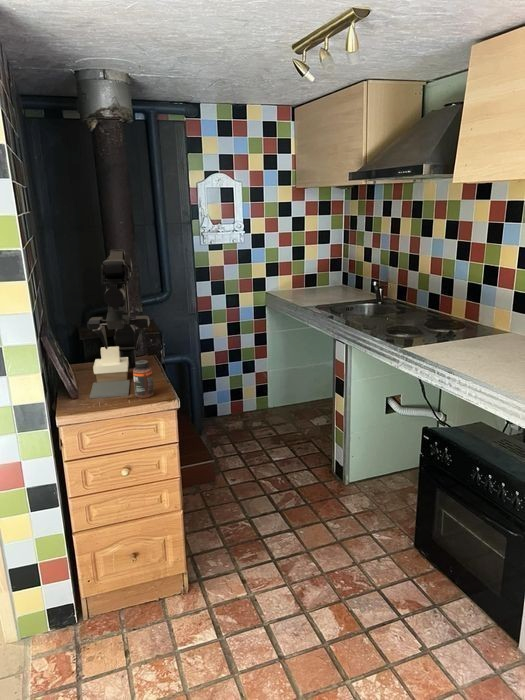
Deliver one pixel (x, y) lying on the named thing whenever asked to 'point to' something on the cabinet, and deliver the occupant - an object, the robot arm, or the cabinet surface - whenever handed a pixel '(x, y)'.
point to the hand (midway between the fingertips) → (121, 348)
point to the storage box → (111, 376)
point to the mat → (110, 389)
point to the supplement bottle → (143, 379)
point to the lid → (110, 361)
